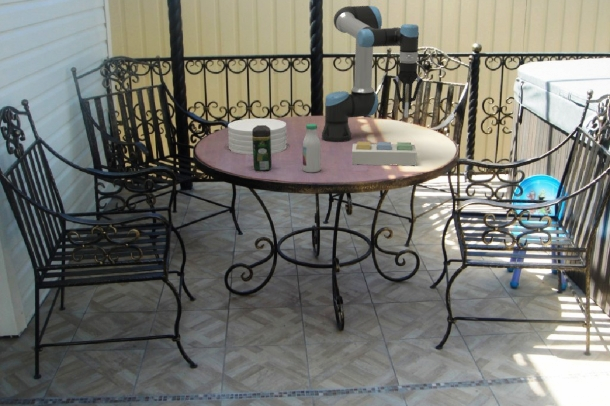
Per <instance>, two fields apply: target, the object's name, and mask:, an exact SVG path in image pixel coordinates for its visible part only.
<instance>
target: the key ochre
mask: <svg viewBox="0 0 610 406" xmlns="http://www.w3.org/2000/svg"><path fill="white" fill-rule="evenodd" d="M356 144H357V149H359V150H371V144H372V142H371V141H357V142H356Z"/></svg>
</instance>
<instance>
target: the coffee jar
mask: <svg viewBox="0 0 610 406" xmlns="http://www.w3.org/2000/svg"><path fill="white" fill-rule="evenodd" d="M252 141H253V155H252V157H253V158H252V160H253V169H254V170H255V171H260V172H264V171H270V170H271V169H272V166H273V165H272V154H271V133H270V128H269V127H267V126H266V125H258V126H256V127H254V128H253V130H252Z"/></svg>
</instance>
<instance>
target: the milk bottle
mask: <svg viewBox="0 0 610 406" xmlns="http://www.w3.org/2000/svg"><path fill="white" fill-rule="evenodd" d="M305 128H306V133H305V136H304V139H303V142H302V170H303V172H306V173H318V172H320V171H321V170H322V169H321V165H322V163H321V162H322V161H321V159H322V158H321V157H322V155H321V154H322V153H321V152H322V151H321V148H322V147H321V146H322V145H321V140H320V137H319V135H318V133H317V131H318V124H316V123H307V124H306V125H305Z"/></svg>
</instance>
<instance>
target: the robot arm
mask: <svg viewBox="0 0 610 406" xmlns="http://www.w3.org/2000/svg"><path fill="white" fill-rule="evenodd" d="M333 25H334V27H335V29H336V30H337V31H338V32H340V33H342V34H343V33H344V34H349V35H350V36H351V37H353V38H355V51H354V52H355V57H354V59H355V60H354V86H353V88H352V89H351V90H350V93H349V92H348V91H346V90H343V91H334V92H330V93H328V94H327V95H326V96H325V100H324V101H325V103H324V115H325V116H324V119H325V121H324V122H325V123H324V125H323V129H322V132H321V140H322V141H326V142H331V143H332V142H334V143H341V142H342V143H343V142H347V141H351V140H352V131H351V128H350V126H349V125H350V124H349V118H359V117H361V118H363V117H364V118H365V117H371V116H373V115H375V113H376V112H377V110H378V108H379V107H378V106H379V99H378V98H379V97H378V94H377V93H376V92H375V89H374V88H373V85H372V83H373V81H372V80H373V58H374V55H373V53H374V48H376V47H377V48H378V47H399V64H398V65H399V67H398V73H397V76H396V77H393V78H392V82H393V83H394V85H395V89H396V96H397V100H398V101H399V102H401V109H402V110H404V112H403V113H404V114H403V115H404V118H409V110H412V102H415V101H416V100H417V98H418V97H417V96H418V93H419V89H420V85H421V83H422V82H423V81H424V80H423V78H422V77H419V76H418V75H419V74H418V63H417V61H418V56H419V55H418V51H419V36H420V33H419V25H417V24H410V23H409V24H402V25H401V26H400V27H396V26H395V27H391V28H382V26H383V18H382V13H381V11H380V9H379V8H378V7H376V5H356V6H354V5H353V6H344V7H342V8H340V9H338V11H336V13H335V15H334V17H333ZM399 81H400V82H401V84H402V94H401V91H400V86H399V83H398V82H399ZM415 81H416V85H415V87H414V92H413V91H412V90H413V84H414V82H415ZM407 85H408V96H407V97H408V99H407V100H408V101H406V94H407V93H406V92H407V91H406V89H407ZM412 92H413V95H412ZM401 96H402V97H401ZM350 139H351V140H350Z"/></svg>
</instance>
